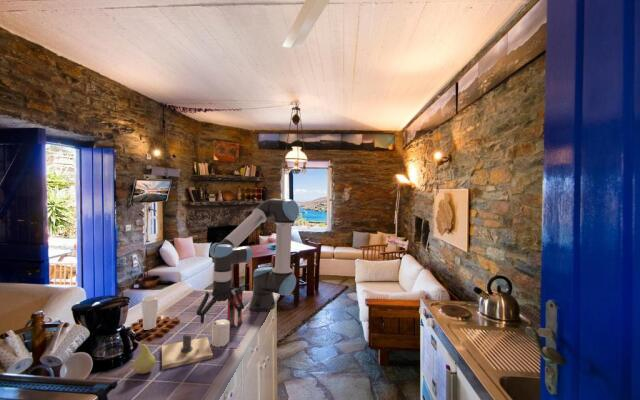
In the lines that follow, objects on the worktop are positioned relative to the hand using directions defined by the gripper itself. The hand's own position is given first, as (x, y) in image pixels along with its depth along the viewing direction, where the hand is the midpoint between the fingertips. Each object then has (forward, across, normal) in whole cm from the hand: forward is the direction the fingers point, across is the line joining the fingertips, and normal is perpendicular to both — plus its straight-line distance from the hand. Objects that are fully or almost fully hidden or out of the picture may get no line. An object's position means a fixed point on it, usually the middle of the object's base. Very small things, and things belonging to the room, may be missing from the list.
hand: (220, 327), depth 129 cm
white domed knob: (+7, 0, 0) cm, 7 cm away
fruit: (+8, +29, +10) cm, 31 cm away
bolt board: (+7, +14, +3) cm, 16 cm away
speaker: (+7, -10, -17) cm, 21 cm away
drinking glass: (+7, +28, -28) cm, 40 cm away
